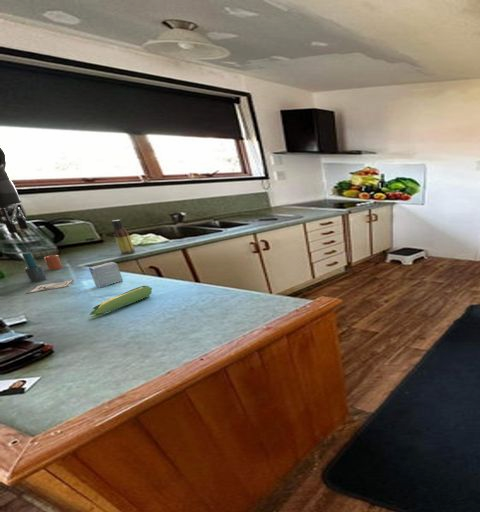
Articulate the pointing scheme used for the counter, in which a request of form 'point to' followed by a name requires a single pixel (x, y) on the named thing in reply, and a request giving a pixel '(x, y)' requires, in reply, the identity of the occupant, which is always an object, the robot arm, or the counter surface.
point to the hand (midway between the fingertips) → (19, 230)
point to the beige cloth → (51, 286)
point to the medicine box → (105, 274)
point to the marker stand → (35, 274)
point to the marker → (29, 260)
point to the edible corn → (121, 300)
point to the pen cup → (53, 262)
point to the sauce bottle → (122, 238)
